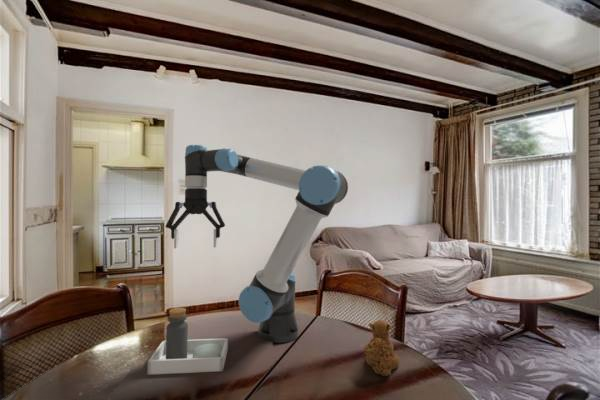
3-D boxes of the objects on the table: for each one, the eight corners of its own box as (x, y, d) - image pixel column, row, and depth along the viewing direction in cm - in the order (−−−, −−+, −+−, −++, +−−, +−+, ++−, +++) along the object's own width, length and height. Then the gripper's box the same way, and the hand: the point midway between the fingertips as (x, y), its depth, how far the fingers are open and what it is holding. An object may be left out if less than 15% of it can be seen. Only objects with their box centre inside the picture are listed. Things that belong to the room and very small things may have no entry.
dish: (216, 351, 97) (217, 341, 97) (223, 363, 90) (223, 353, 90) (190, 356, 93) (190, 346, 94) (195, 369, 86) (195, 358, 86)
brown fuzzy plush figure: (399, 360, 96) (399, 317, 96) (398, 384, 83) (398, 335, 83) (366, 354, 99) (367, 313, 99) (360, 377, 86) (361, 329, 86)
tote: (227, 352, 99) (228, 338, 99) (222, 374, 86) (223, 358, 86) (162, 355, 96) (162, 340, 97) (147, 378, 84) (147, 361, 84)
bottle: (179, 367, 87) (180, 314, 88) (161, 365, 89) (162, 312, 89) (190, 357, 93) (192, 307, 93) (173, 355, 94) (174, 306, 95)
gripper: (232, 189, 117) (232, 245, 116) (163, 189, 114) (163, 246, 113) (230, 187, 109) (230, 247, 108) (156, 187, 106) (155, 249, 106)
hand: (195, 247), depth 111 cm, fingers open, 13 cm apart
